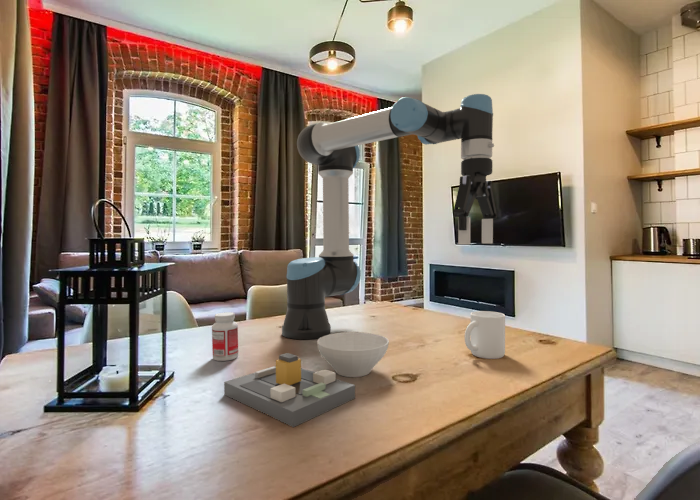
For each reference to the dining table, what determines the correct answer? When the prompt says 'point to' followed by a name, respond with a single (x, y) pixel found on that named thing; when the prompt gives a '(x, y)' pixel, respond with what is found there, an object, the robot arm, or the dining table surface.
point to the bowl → (352, 352)
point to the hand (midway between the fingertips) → (476, 244)
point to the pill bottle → (225, 337)
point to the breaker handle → (288, 369)
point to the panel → (291, 406)
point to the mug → (486, 334)
